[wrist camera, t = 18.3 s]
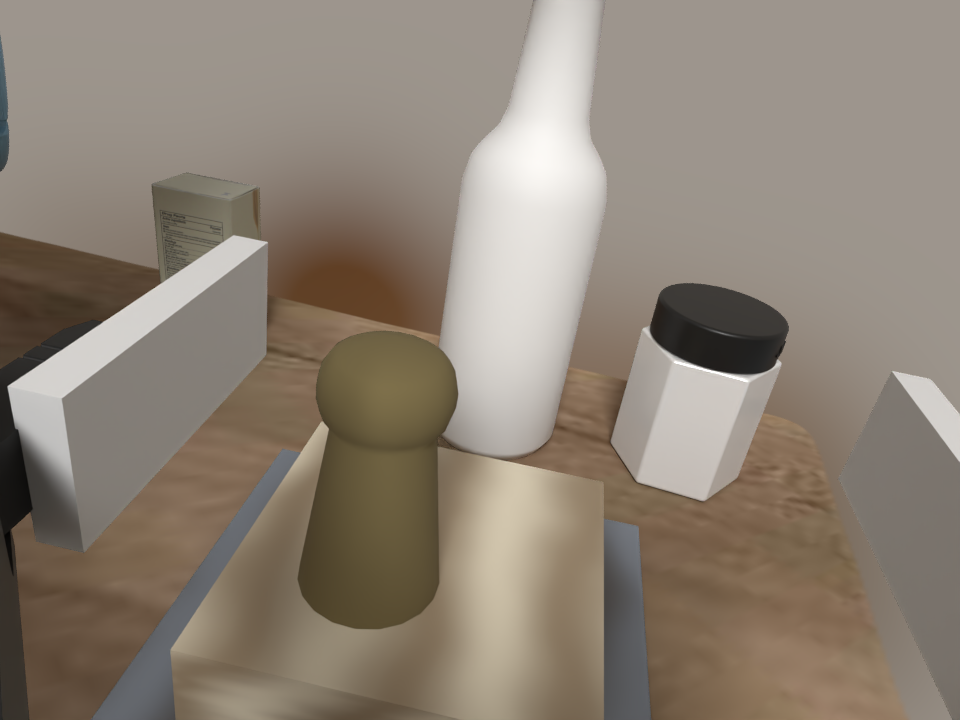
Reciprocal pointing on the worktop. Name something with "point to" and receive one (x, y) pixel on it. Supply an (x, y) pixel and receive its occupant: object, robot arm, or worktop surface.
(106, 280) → the worktop surface
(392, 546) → the cork
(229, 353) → the robot arm
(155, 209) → the skincare box
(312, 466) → the plinth
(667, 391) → the jar
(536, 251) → the alcohol
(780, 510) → the worktop surface
